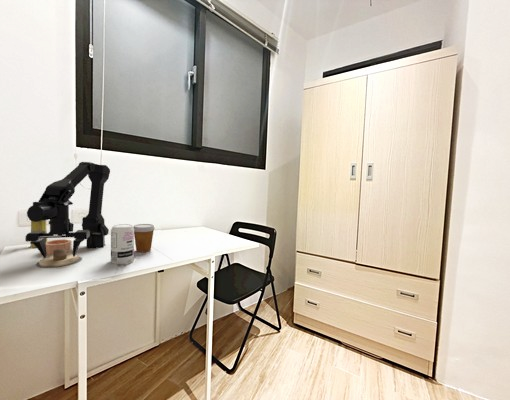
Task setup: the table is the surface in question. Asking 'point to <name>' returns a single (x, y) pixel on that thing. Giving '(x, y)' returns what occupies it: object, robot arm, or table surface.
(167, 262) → the table surface
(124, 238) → the supplement can
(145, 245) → the disposable coffee cup
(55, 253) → the lid
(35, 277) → the table surface
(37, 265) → the mat
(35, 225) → the vase
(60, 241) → the bowl
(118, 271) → the table surface
